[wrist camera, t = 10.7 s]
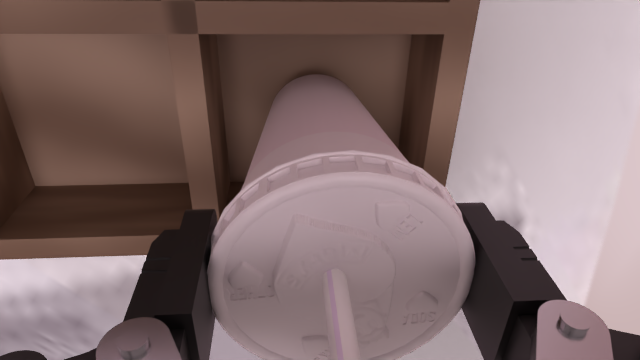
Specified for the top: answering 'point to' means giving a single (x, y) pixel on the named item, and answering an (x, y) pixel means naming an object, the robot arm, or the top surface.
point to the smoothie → (336, 238)
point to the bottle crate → (195, 103)
